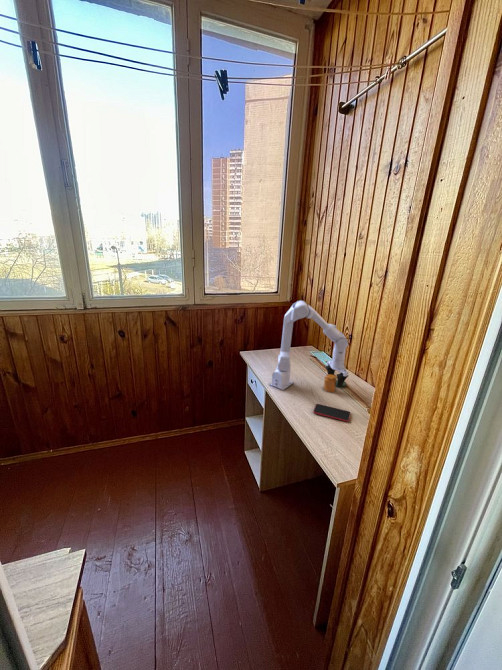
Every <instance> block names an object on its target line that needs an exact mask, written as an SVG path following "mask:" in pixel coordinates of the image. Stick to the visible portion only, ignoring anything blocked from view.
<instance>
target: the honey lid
mask: <svg viewBox="0 0 502 670" xmlns="http://www.w3.org/2000/svg"><path fill="white" fill-rule="evenodd" d="M346 387H347V382H346V380H345V381H344V383H343V385H342V387H338V379H336V385H335V388H340V389H345V388H346Z"/></svg>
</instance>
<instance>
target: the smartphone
mask: <svg viewBox="0 0 502 670" xmlns="http://www.w3.org/2000/svg"><path fill="white" fill-rule="evenodd" d="M312 411H313V414H314V415H315V414H316V415H319V416H324V417H327V418H330V419H334V420H340V421H342V422H347V423H348V422H349V421H350V418H351V411H349V410H345V409H341V408H337V407H334V406H329V405H325V404H321V403H316V404H315V406H314V408H313V410H312Z"/></svg>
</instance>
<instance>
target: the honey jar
mask: <svg viewBox="0 0 502 670" xmlns="http://www.w3.org/2000/svg"><path fill="white" fill-rule="evenodd" d="M336 380H337V376H336V375H335V374H334V375H331V374H328V373H327V374H326V375H325V376H324V380H323V391H325V392H328V393H333V392H335V391H336V386H335V385H336Z"/></svg>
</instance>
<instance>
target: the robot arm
mask: <svg viewBox="0 0 502 670" xmlns="http://www.w3.org/2000/svg"><path fill="white" fill-rule="evenodd" d="M304 318H306V319H312V320H313V321H314V322H315V323H316V324H317V325H318V326H320V328H322V333H323V334H324V335H325V336H326V337H327V338H328V339H329V340H330V341H331V342H333V343H334V345H333V349H332V350H333V351H332V359H331V360H327V361H326V366H325V369H326V371H327V375H328V374H331V375H334V376H335V372H338V373H337V374H336V379H337V380H338V387H337V388H339V387H342V385H343V383H344V381H345V382H346V379H348V377H349V372H348V371H347V370H346V366H345V358H346V353H347V352H346V350H347V348H348V346H349V341H348V339H347V337H346V336H345V335H344V333H343V332H342V331H340V330H339V329H338V327H337V325H336V324H332V323H328V322H327V321H326V320H325V319H324V318H323V317H322V316H321V315H320V314H319V313H318V312H317V311H316V309H314V308H313V307H312V306H311V305H310V304H307V302H306V301H304V300H297V301H296V302H294V303H292V305H291V306H290V308H289V309H288V310H287V311H286V313H285V314H284V317H283V323H282V324H283V325H282V333H281V334H282V335H281V344H280V350H279V351H280V352H279V354H278V355H277V365H276V367H275V370H274V372H273V373H272V375H271V377H272V378H271V383H270V386H273V387H275V388H277V389H279V390H282V391H284V390H286V388H288V387H290V386H291V385H293V381H291V369H292V368H291V366H292V365H291V356H290V355H291V344H292V338H293V337H292V336H293V328H294V323H295V322H296V321H298V320H301V319H304Z"/></svg>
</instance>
